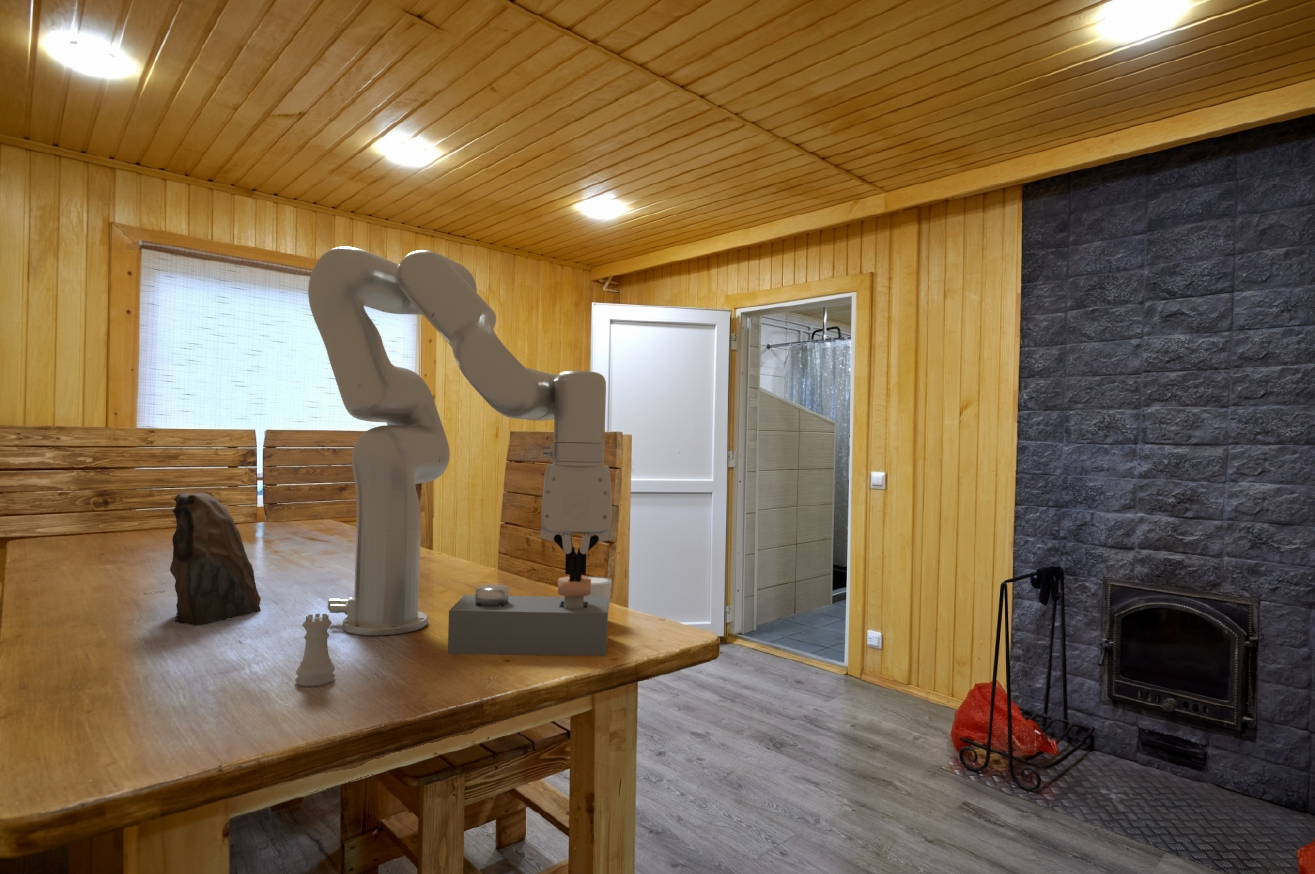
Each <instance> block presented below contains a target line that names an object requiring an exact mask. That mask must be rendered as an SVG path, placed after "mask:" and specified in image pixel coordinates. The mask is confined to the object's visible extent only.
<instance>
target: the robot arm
mask: <svg viewBox="0 0 1315 874" xmlns="http://www.w3.org/2000/svg"><path fill="white" fill-rule="evenodd" d="M311 270H312V271H311V274H310V278H309V281H308V288H307V289H308V291H307V292H308V293H307V294H308V303H309V308H310V311H311V312H310V313H311V314H312V317H313V320H314V322H315V325H316V327H317V330H318V332H319V333H320V336H321V340H322V342H323V345H324V347H325V349H326V350H325V351H326V353H327V358H328V360H329V364H330V366H331V367H330V368H331V369H332V372H333V375H334V378H335V382H336V385H337V388H338V391H339V395H340V398H341V401H342V403H343V405H344V407H345V410H346V411H347V413H348V414H349V415H350V416H352V417H353V418H355V419H357V420H358V421H359V420H360V421H365V422H369V423H370V422H371V423H386V425H379V426H375V427H373V428H370V429H368V430H366V431H365V432H363V433H362V434H361V435H360V436H359V437H358V438H357V440H356V441H355V443H354V446H353V448H352V453H351V467H352V474H353V478H354V486H355V494H356V497H355V498H356V524H355V525H356V526H355V527H356V531H355V532H356V541H355V565H354V567H355V569H354V595H353V596H351V597H349V598H347V599H345V598H344V599H343V598H329V599H328V602H327V611H329V613H330V614H341V613H343V614H344V615H346V617H345V618H344V619H342V629H343V630H344V631H345V632H347V633H351V634H353V635H361V636H390V635H397V634H398V635H400V634H406V633H410V632H414V631H417V630H420V629H422V628H424V627H425V626H427V625H428V622H429V620H428V619H429V616H428V614H427V613H425V612H423V611H420V610H419V593H420V592H419V589H420V587H419V586H420V564H421V563H420V562H421V560H420V559H421V557H420V555H421V554H420V553H421V521H422V518H421V517H422V515H421V513H422V512H421V504H420V500H419V496H418V492H417V489H416V484H424V483H429V482H433V481H436V480H437V479H438V478H440V477H442V475H443V474H444V473H445V471H446V470H447V468H448V466H449V464H450V463H449V462H450V453H451V452H450V446H449V442H448V439H447V436H446V432H445V429H444V426H443V423H442V420H441V417H440V414H439V412H438V408H437V405H436V403H435V399H434V397H433V394H432V392H431V390H430V388H429V385H428V384H427V382H426V381H425V380H424V379H423V378H422V377H421V375H420V374H418V373H417V372H415V371H413V370H411V369H408V368H406V367H401V366H395V365H394V364H393V363H392V362H391V360H390V357H389V356H388V354H387V351H386V348H385V346H384V341H383V339H382V337H381V334H380V332H379V330H378V328H377V326H376V325H375V323H374V321H373V320H372V319H371V318H370V316H369V314H368V313H367V311H366V309H365V307H366V308H370V309H373V310H377V311H379V312H380V311H381V312H383V313H388V314H395V315H416V316H417V315H419V316H420V315H421V316H424V318H425V319H426V320H427V321H428V322H429V323H430V325H432V326H433V328H434V329H435V330H436V331H437V332H438V333H439V335H440V336H441V337H442V338H443V339H444V340H445V341H446V343H448V346H450V348H451V349H452V354H453V357H454V359H455V362H456V364H457V366H458V368H459V370H460V372H461V373H462V375H463V376H464V377H465V379H466V380H467V382H468V383H469V384H470V385H471V386H472V387H473V388H474V390H475V391H476V392H477V393H478V394H479V396H480V397H482V398H483V400H484V401H485V402H486V403H487V404H488V405H489V406H490V407H491V408H492V409H494V410H495V411H496V412H498V413H499V414H500V415H502V416H504V417H506V418H510V419H516V420H517V419H518V420H528V421H537V422H540V421H541V422H542V421H551V420H553V442H552V444H551V445H548V446H543V451H542V454H543V456H544V457H546V456H547V457H550V459H552V463H548V464H547V466H546V470H545V474H544V480H543V491H542V498H541V499H542V500H541V515H540V516H541V518H540V520H541V529H540V533H539V537H540V539H543V540H545V541H550V542H553V543H556V544H557V545H558V546H559V548H561V549H562V551H563V553H564V554H565V560H564V561H565V562H564V563H565V567H564V568H565V569H564V574H565V575H567V576H569V577H570V578H569V581H573V580H576V581H581V577H583V576H586V575H587V556H588V555H587V553H588V552H589V551H590V550H591V549H593V548H594V546H596V544H599V543H602V542H608V541H611V540H612V539H613V537H614V533H613V529H612V520H613V500H612V499H613V497H612V493H613V492H612V480H611V479H612V477H611V471H610V466H609V465H607V464H605V447H606V445H605V440H606V439H605V438H606V433H605V432H606V405H607V404H606V403H607V402H606V399H607V382H606V378H605V377H604V375H602V374H601V373H599V372H596V371H595V372H594V371H589V370H566V371H562V372H559V374H554V373H548V372H544V371H540V370H538V369H533V368H529V367H525V366H524V365H523V364H522V363H521V362H520V361H519V360H518V358H517V357H516V356H514V355H513V354H512V352H510V350H509V349H508V348H507V346H506V345H504V343H503V342H502V341H501V339H500V338H499V337H498V335H497V334H496V332H495V326H496V323H497V315H496V313H495V311H494V310H493V309H492V307H491V306H490V305H489V304H488V303H487V302H486V301H485V300H484V299H483V298H482V297H481V295H480V294H478V292H477V291H478V288H477V283H476V280H475V278H474V276H473V275H472V273H471V271H470V270H469V269H467V268H466V266H464V265H462V264H460V263H459V262H457V261H454V260H453V259H451V258H448V257H447V256H444V255H442V254H440V253H438V252H436V251H432V250H427V249H421V250H415V251H412V252H410V253H408V254H407V255H406V254H405V256H404V257H403V258H402V259H401V260H400V262H399V263H396V262H394V261H392V260H389V259H386V258H384V257H382V256H380V255H377V254H374V253H373V252H370V251H368V250H365V249H361V248H357V247H352V246H339V247H338V246H337V247H334V248H332V249H329V250H327V251H326V252H324V253H323V254H322V255H321V256H320V257H319V259H318V260H317V261H316V262H315V264H314V266H313V269H311ZM572 534H575V535H576V534H581V540H580V541H581V542H580V545H579V547H578V548H577V552H576V551H575V549H576V548H575V547H574V543H573V536H572ZM575 577H576V578H575Z"/></svg>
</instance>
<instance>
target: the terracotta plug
mask: <svg viewBox="0 0 1315 874" xmlns="http://www.w3.org/2000/svg"><path fill="white" fill-rule="evenodd" d="M587 577H588V576H581V581H576V580H573V581H569V578H570V576H563V577H559V578H558V579H557V594H558V595H559V596H561V597H565V599H564V608H583V602H584V596H587V595H589V594H591V579H590V578H587ZM575 578H576V577H575Z"/></svg>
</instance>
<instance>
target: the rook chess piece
mask: <svg viewBox="0 0 1315 874" xmlns="http://www.w3.org/2000/svg"><path fill="white" fill-rule="evenodd" d="M320 615H321V614H320V613H315V615H314V617H313V614H308V615H307V616H305V621H304V622H302V627H303V629H304V630H305V632H306V633H305V635H304V636H303V638H304V639H305V648H304V652H303V653H304V654H303V656H302V660H301V661H300V663H299V664H300V665H299V666H298V667H297V668H296V672H295V674H296V675H297V677H295V681H294V682H295V683H296V684H297V686H298V685H299V687H302V688H315V687H323V686H326V685H329V684H330V683H332V682H333V681H334V680H335V678H336V674H335V673H334V671H335V670H336V667H335V665H334V663H333V662H332V659H331V658H330V654H329V647H328V646H329V645H328V638H329V637H330V634H329V633H328V631H329V630H328V629H329V628H330V626H331V625H332V621H331V620H330V619H329V614H327V613H322V615H321V616H320Z"/></svg>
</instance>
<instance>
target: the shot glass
mask: <svg viewBox="0 0 1315 874" xmlns="http://www.w3.org/2000/svg"><path fill="white" fill-rule="evenodd" d="M586 577H587V578H590V579H591V594H589V595H587V596H584V597H598V598H608V612H609V610H610V609H609V608H610V602H611V592H612V585H613V579H610V578H608V577H603V576H586Z"/></svg>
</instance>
